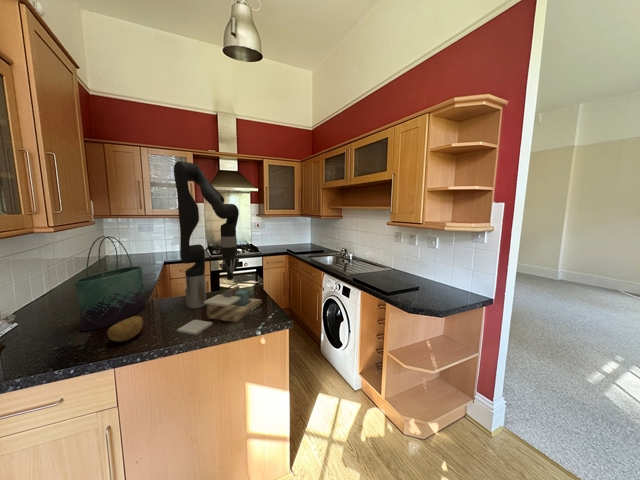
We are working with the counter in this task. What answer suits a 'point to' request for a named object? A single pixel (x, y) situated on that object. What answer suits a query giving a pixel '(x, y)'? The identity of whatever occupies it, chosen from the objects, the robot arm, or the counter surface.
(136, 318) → the potato
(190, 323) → the mat
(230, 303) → the cover
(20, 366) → the counter surface
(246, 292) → the block
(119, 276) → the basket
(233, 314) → the puzzle board
